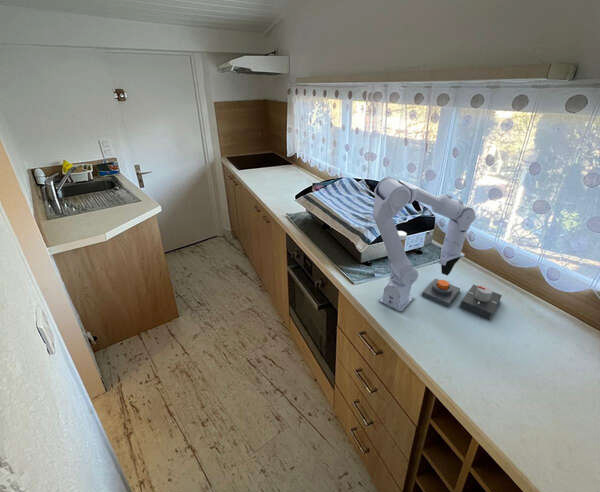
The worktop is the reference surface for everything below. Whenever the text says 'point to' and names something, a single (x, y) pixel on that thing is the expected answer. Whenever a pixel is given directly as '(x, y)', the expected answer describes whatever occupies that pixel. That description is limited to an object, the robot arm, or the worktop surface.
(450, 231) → the robot arm
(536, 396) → the worktop surface
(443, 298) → the block
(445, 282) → the button
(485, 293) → the program dial
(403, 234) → the sprinkles bottle
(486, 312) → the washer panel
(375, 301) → the worktop surface
